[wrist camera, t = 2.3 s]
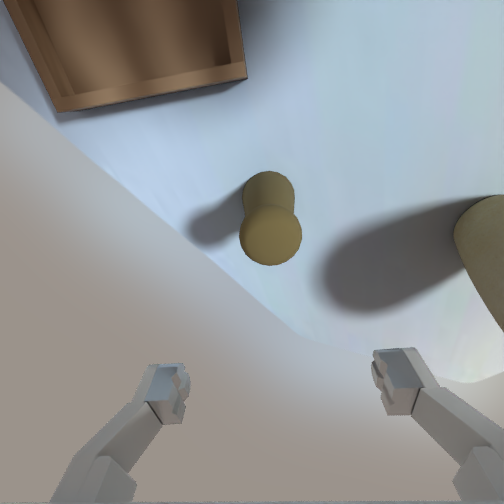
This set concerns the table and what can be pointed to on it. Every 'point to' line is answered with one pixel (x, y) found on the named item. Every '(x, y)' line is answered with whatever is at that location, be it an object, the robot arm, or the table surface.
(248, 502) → the robot arm
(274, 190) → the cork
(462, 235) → the plant pot
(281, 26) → the table surface
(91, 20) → the walnut tray
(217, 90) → the table surface
